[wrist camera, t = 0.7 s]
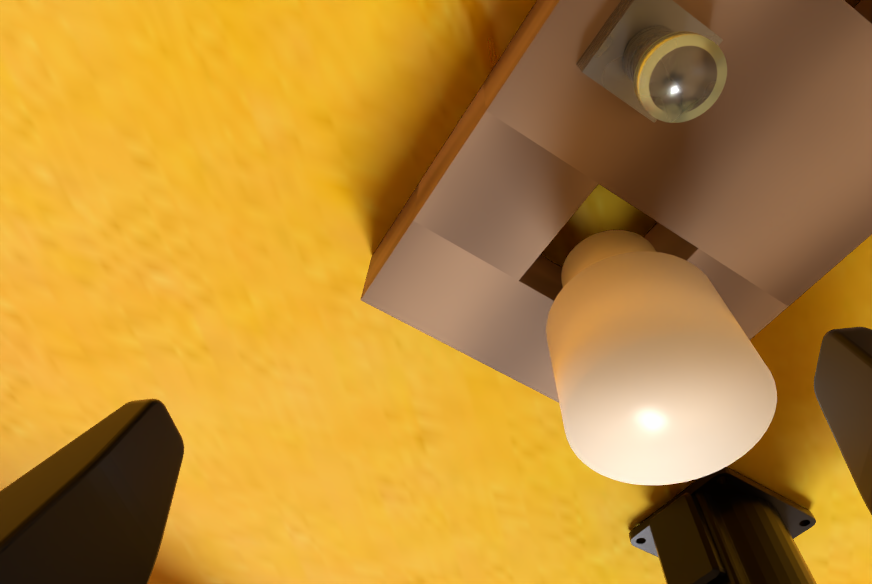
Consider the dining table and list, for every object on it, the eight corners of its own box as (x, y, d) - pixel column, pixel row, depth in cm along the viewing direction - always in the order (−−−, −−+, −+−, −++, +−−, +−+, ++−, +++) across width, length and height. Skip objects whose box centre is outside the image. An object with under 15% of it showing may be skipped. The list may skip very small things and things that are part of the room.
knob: (718, 253, 18) (823, 394, 13) (617, 353, 20) (672, 509, 15) (600, 176, 17) (663, 297, 12) (506, 291, 19) (523, 437, 14)
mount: (1187, -151, 15) (1328, -163, 13) (616, 388, 26) (633, 441, 23) (879, -530, 12) (985, -641, 10) (371, 256, 23) (360, 300, 20)
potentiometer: (709, 32, 15) (767, 61, 12) (644, 112, 17) (683, 156, 14) (637, -23, 15) (681, -6, 12) (575, 63, 16) (601, 98, 13)
